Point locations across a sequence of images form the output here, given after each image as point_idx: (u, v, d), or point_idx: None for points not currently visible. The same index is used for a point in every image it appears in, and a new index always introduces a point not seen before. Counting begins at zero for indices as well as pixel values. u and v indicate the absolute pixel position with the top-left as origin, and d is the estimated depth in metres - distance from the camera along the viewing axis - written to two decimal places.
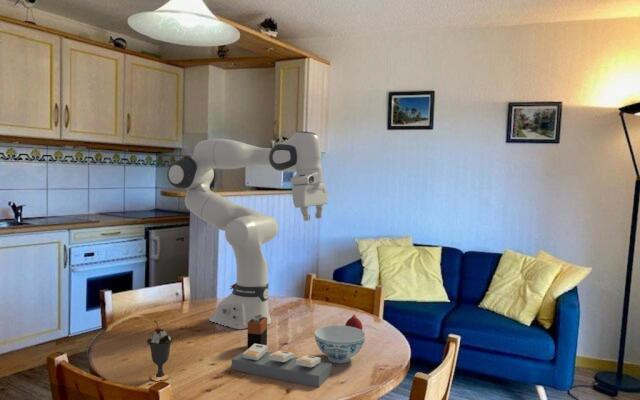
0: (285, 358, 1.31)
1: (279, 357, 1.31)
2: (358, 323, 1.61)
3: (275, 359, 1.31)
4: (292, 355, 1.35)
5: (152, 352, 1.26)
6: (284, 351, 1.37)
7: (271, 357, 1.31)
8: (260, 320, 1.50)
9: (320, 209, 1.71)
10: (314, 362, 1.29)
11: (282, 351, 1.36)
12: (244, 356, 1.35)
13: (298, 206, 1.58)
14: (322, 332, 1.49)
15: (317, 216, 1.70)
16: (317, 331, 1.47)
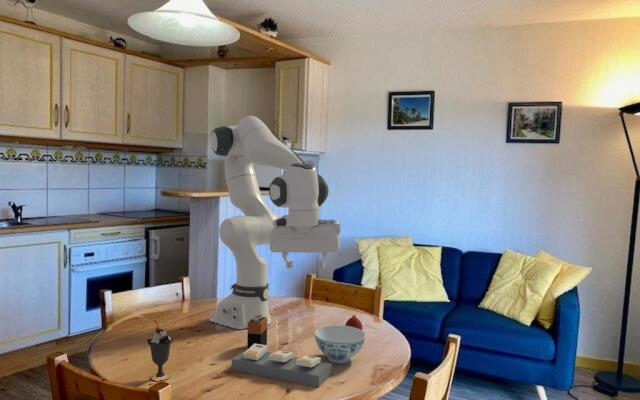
0: (285, 358, 1.31)
1: (279, 357, 1.31)
2: (358, 323, 1.61)
3: (275, 359, 1.31)
4: (292, 355, 1.35)
5: (152, 352, 1.26)
6: (284, 351, 1.37)
7: (271, 357, 1.31)
8: (260, 320, 1.50)
9: None
10: (314, 362, 1.29)
11: (282, 351, 1.36)
12: (244, 356, 1.35)
13: None
14: (322, 332, 1.49)
15: (319, 265, 1.40)
16: (317, 331, 1.47)
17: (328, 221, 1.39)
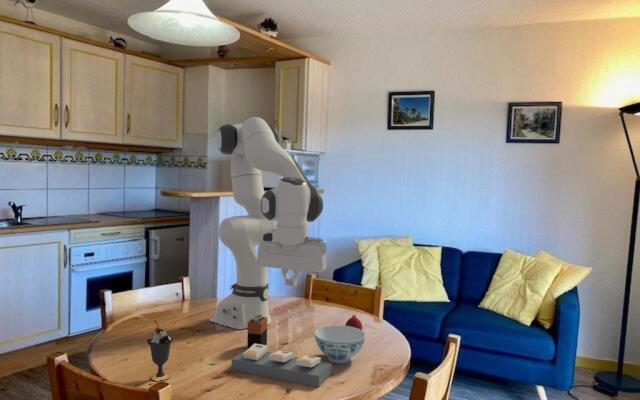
0: (285, 358, 1.31)
1: (279, 357, 1.31)
2: (358, 323, 1.61)
3: (275, 359, 1.31)
4: (292, 355, 1.35)
5: (152, 352, 1.26)
6: (284, 351, 1.37)
7: (271, 357, 1.31)
8: (260, 320, 1.50)
9: None
10: (314, 362, 1.29)
11: (282, 351, 1.36)
12: (244, 356, 1.35)
13: None
14: (322, 332, 1.49)
15: None
16: (317, 331, 1.47)
17: (314, 239, 1.34)
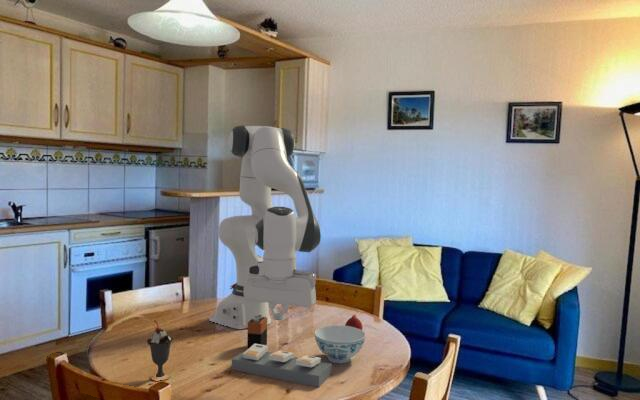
0: (285, 358, 1.31)
1: (279, 357, 1.31)
2: (358, 323, 1.61)
3: (275, 359, 1.31)
4: (292, 355, 1.35)
5: (152, 352, 1.26)
6: (284, 351, 1.37)
7: (271, 357, 1.31)
8: (260, 320, 1.50)
9: None
10: (314, 362, 1.29)
11: (282, 351, 1.36)
12: (244, 356, 1.35)
13: None
14: (322, 332, 1.49)
15: None
16: (317, 331, 1.47)
17: (303, 272, 1.27)
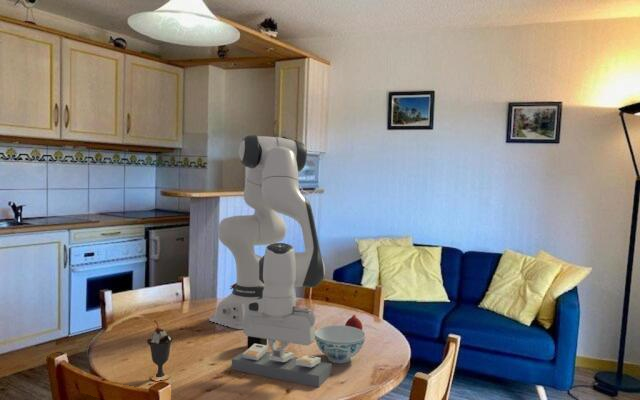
0: (285, 358, 1.31)
1: (279, 357, 1.31)
2: (358, 323, 1.61)
3: (275, 359, 1.31)
4: (292, 355, 1.35)
5: (152, 352, 1.26)
6: None
7: (271, 357, 1.31)
8: None
9: (282, 346, 1.30)
10: (314, 362, 1.29)
11: None
12: (244, 356, 1.35)
13: None
14: (322, 332, 1.49)
15: None
16: (317, 331, 1.47)
17: (302, 310, 1.28)
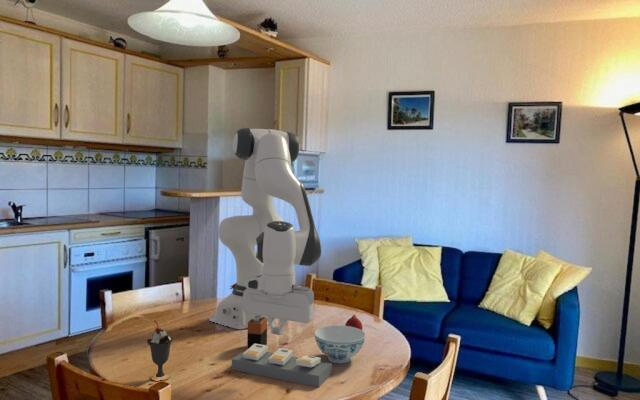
0: (285, 360, 1.31)
1: (279, 360, 1.30)
2: (358, 323, 1.61)
3: (275, 362, 1.31)
4: (292, 353, 1.35)
5: (152, 352, 1.26)
6: (284, 349, 1.37)
7: (271, 360, 1.31)
8: (260, 320, 1.50)
9: (281, 324, 1.30)
10: (314, 362, 1.29)
11: (281, 349, 1.36)
12: (244, 356, 1.35)
13: None
14: (322, 332, 1.49)
15: None
16: (317, 331, 1.47)
17: (302, 288, 1.27)
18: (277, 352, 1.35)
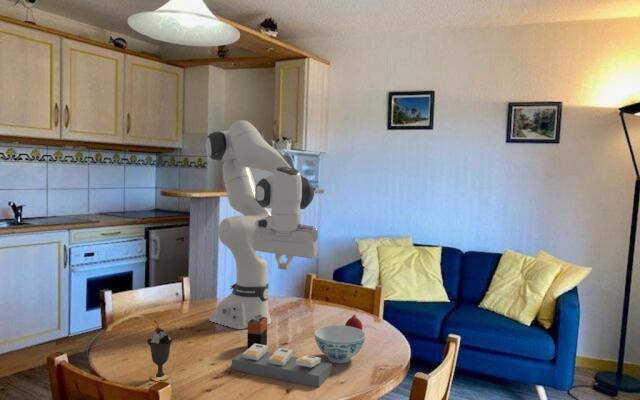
0: (285, 361, 1.31)
1: (278, 361, 1.30)
2: (358, 323, 1.61)
3: (275, 363, 1.31)
4: (292, 353, 1.35)
5: (152, 352, 1.26)
6: (283, 348, 1.37)
7: (271, 361, 1.31)
8: (260, 320, 1.50)
9: None
10: (314, 362, 1.29)
11: (281, 349, 1.36)
12: (244, 356, 1.35)
13: None
14: (322, 332, 1.49)
15: None
16: (317, 331, 1.47)
17: (307, 227, 1.41)
18: (277, 352, 1.35)
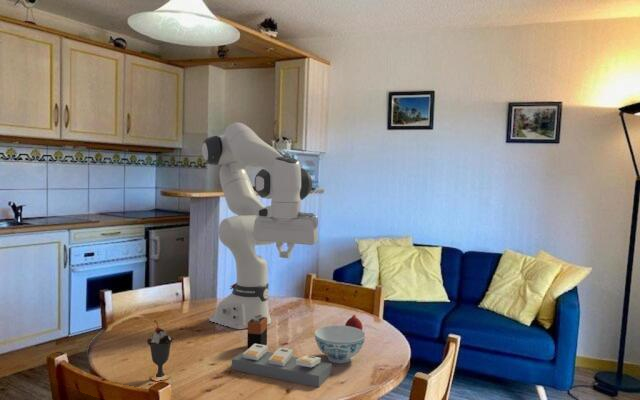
0: (285, 361, 1.31)
1: (278, 361, 1.30)
2: (358, 323, 1.61)
3: (275, 363, 1.31)
4: (292, 353, 1.35)
5: (152, 352, 1.26)
6: (283, 348, 1.36)
7: (271, 361, 1.31)
8: (260, 320, 1.50)
9: None
10: (314, 362, 1.29)
11: (281, 349, 1.36)
12: (244, 356, 1.35)
13: None
14: (322, 332, 1.49)
15: None
16: (317, 331, 1.47)
17: (307, 214, 1.43)
18: (277, 352, 1.35)
